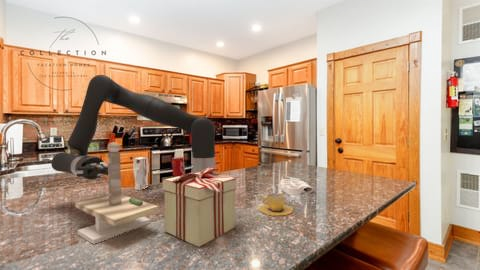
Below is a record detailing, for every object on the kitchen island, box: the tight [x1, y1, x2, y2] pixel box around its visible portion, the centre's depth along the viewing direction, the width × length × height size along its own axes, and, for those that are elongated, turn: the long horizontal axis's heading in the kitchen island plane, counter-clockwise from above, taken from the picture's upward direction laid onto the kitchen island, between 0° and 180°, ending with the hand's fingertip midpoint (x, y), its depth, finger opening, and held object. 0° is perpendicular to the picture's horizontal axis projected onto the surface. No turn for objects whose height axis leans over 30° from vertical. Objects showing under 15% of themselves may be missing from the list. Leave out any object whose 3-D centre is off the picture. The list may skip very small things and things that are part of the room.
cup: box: [258, 192, 294, 217], centre depth 82 cm, size 12×12×5 cm
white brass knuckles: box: [277, 178, 314, 196], centre depth 109 cm, size 3×18×15 cm
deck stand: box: [77, 216, 151, 245], centre depth 68 cm, size 10×16×5 cm, turn 144°
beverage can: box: [171, 156, 186, 178], centre depth 114 cm, size 6×6×15 cm
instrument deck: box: [74, 141, 159, 226], centre depth 68 cm, size 24×12×20 cm, turn 54°
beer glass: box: [132, 156, 150, 191], centre depth 113 cm, size 7×7×15 cm
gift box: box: [162, 167, 238, 248], centre depth 66 cm, size 17×18×17 cm
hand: (112, 171), depth 68 cm, fingers closed
